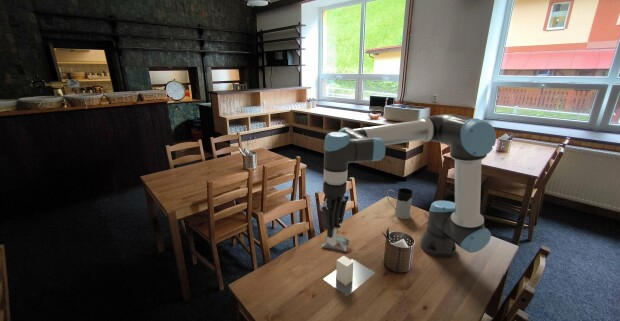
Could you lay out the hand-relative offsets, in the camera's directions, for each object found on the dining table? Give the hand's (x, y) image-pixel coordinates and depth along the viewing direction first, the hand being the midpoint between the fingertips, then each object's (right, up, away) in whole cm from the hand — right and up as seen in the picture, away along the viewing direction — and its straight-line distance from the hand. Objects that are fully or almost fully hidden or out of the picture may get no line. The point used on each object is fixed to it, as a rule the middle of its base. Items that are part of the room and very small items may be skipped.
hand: (331, 243), depth 99 cm
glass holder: (+43, -2, +65) cm, 78 cm away
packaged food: (+4, -12, +34) cm, 36 cm away
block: (+6, -18, +12) cm, 22 cm away
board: (+8, -18, +15) cm, 25 cm away
